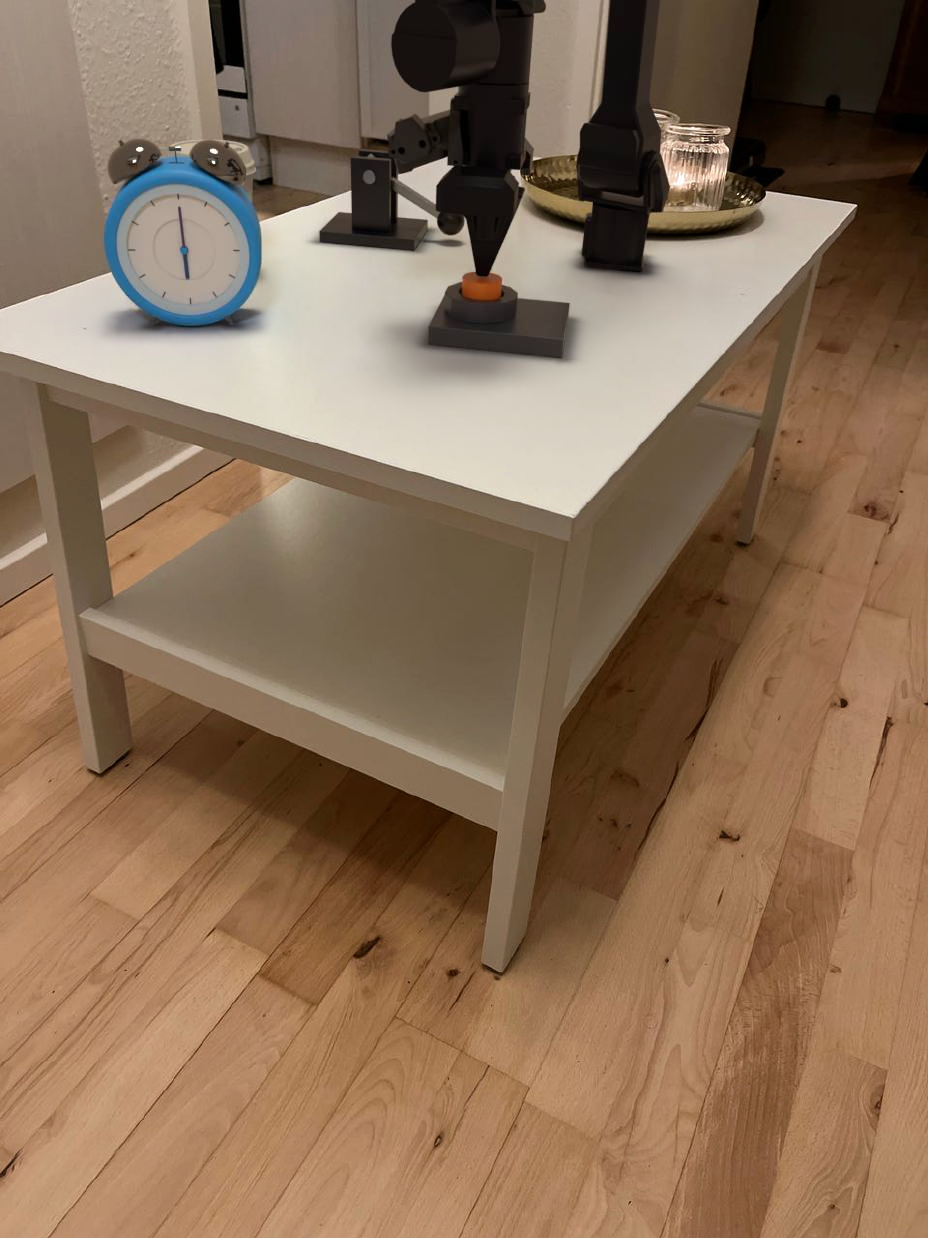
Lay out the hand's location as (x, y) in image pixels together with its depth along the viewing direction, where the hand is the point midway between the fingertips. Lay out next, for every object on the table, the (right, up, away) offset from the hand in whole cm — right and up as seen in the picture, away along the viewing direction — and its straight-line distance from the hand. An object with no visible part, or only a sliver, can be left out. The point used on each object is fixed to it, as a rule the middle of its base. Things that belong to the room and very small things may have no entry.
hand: (482, 275), depth 89 cm
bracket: (-12, +14, +27) cm, 33 cm away
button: (0, -2, +1) cm, 2 cm away
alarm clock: (-27, -3, +2) cm, 27 cm away
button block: (+2, -4, +3) cm, 5 cm away
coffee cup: (-27, +4, +13) cm, 30 cm away
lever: (-8, +16, +25) cm, 31 cm away
